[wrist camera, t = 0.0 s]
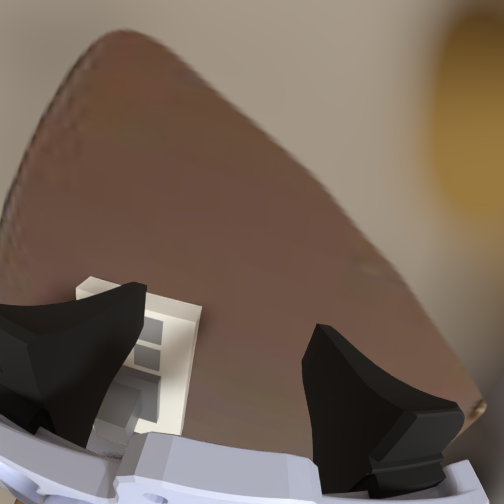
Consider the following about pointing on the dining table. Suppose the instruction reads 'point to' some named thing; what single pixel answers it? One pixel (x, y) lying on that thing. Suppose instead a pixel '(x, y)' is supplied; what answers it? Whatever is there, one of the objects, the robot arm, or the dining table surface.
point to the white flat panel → (161, 352)
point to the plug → (128, 404)
